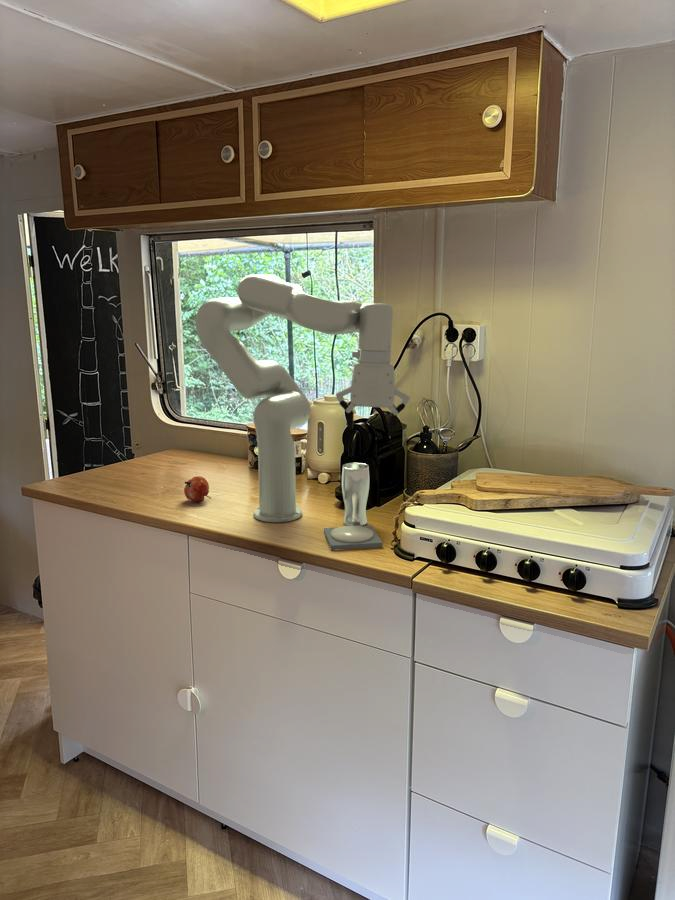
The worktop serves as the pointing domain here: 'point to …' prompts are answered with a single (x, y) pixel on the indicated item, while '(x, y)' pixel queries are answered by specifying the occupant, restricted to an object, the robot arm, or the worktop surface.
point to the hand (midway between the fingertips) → (371, 429)
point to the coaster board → (352, 537)
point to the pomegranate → (196, 489)
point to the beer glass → (355, 493)
